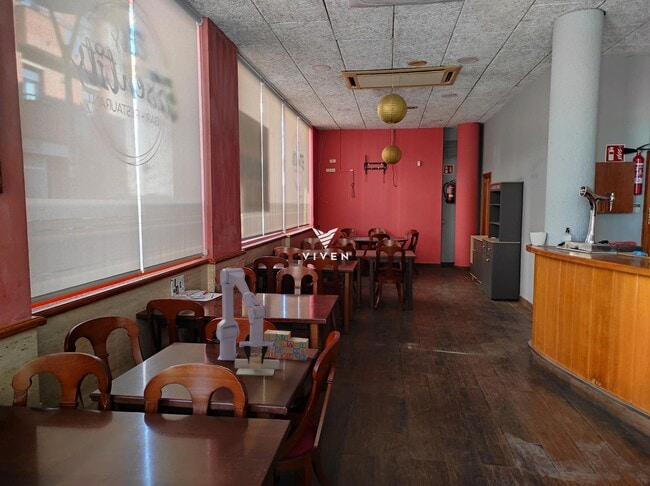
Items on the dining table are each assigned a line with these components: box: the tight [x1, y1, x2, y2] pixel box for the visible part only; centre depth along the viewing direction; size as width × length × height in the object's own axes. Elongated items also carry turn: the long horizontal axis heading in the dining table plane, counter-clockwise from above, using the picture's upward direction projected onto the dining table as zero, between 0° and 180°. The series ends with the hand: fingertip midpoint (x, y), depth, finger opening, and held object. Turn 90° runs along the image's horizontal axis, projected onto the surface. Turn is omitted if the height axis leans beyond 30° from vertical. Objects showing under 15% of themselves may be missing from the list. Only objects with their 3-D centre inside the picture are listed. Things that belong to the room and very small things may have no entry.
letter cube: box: [249, 353, 262, 369], centre depth 195 cm, size 5×5×5 cm
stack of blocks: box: [263, 329, 309, 362], centre depth 217 cm, size 21×6×12 cm, turn 80°
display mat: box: [235, 368, 275, 377], centre depth 195 cm, size 7×16×1 cm, turn 91°
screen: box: [234, 358, 280, 370], centre depth 200 cm, size 1×20×4 cm, turn 91°
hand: (255, 363), depth 195 cm, fingers closed on letter cube, 5 cm apart
